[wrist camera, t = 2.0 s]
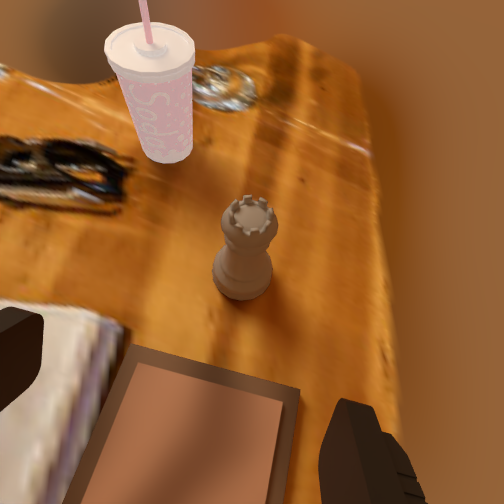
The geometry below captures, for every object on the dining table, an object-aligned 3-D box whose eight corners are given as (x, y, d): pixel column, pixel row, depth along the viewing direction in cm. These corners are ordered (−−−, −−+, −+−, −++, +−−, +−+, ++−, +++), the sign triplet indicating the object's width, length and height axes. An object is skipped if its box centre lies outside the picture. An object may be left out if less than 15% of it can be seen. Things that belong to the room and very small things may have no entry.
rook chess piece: (271, 251, 26) (290, 184, 19) (270, 304, 23) (293, 252, 16) (214, 247, 25) (213, 178, 18) (209, 301, 23) (205, 245, 16)
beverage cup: (119, 153, 29) (49, -47, 17) (158, 114, 32) (121, -80, 20) (178, 179, 28) (149, -11, 16) (212, 137, 31) (209, -51, 19)
